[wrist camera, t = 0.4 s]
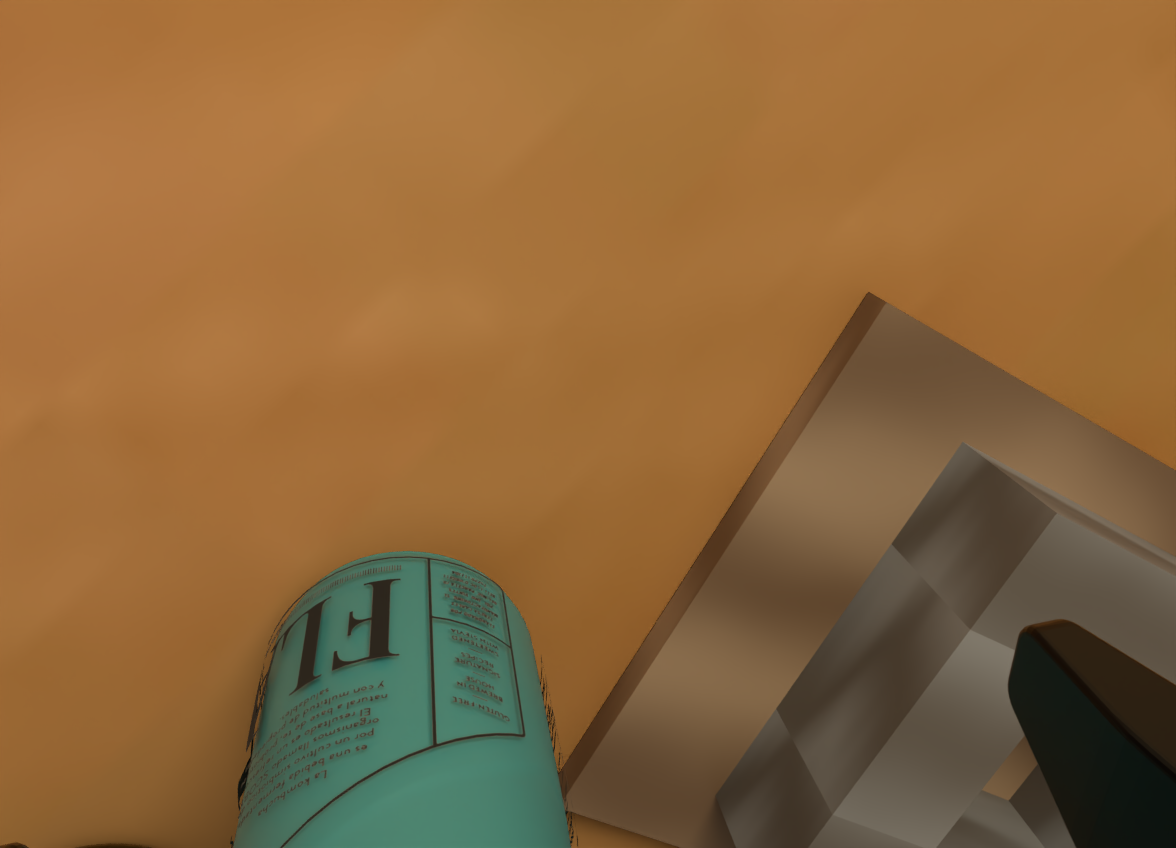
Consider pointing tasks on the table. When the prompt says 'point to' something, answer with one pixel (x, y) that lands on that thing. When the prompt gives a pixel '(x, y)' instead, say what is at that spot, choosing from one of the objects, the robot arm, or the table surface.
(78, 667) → the table surface
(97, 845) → the supplement bottle
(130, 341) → the table surface
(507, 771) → the beverage bottle
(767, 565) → the socket board
